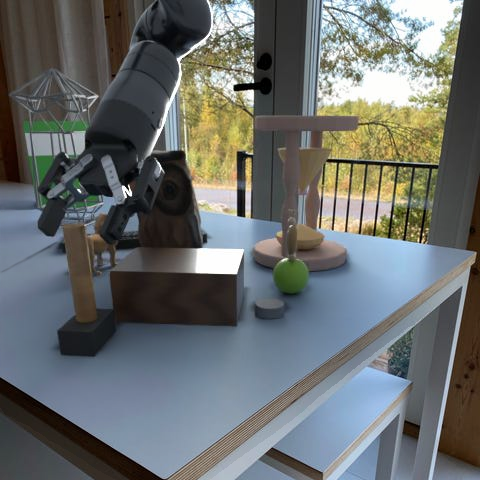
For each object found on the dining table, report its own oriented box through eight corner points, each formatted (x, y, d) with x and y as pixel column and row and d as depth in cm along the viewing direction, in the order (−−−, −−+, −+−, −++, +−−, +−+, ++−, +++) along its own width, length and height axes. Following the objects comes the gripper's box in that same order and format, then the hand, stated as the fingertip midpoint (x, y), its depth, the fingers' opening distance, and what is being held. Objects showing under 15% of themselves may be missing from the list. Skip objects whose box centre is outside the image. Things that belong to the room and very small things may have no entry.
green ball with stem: (305, 284, 76) (310, 209, 71) (309, 298, 70) (314, 217, 65) (271, 284, 76) (273, 209, 71) (272, 298, 70) (275, 217, 66)
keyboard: (197, 231, 112) (197, 223, 111) (207, 242, 102) (207, 233, 101) (64, 240, 104) (63, 231, 103) (62, 252, 94) (61, 242, 94)
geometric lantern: (88, 231, 112) (66, 64, 98) (27, 229, 114) (-2, 65, 101) (115, 219, 126) (100, 71, 112) (61, 217, 129) (40, 72, 115)
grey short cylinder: (284, 309, 62) (284, 319, 63) (284, 298, 66) (284, 308, 66) (254, 308, 63) (254, 318, 63) (255, 297, 66) (255, 307, 67)
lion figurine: (100, 258, 90) (94, 210, 87) (127, 259, 90) (122, 211, 86) (62, 282, 77) (54, 227, 74) (93, 284, 76) (86, 228, 73)
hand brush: (60, 354, 53) (40, 231, 48) (85, 329, 60) (70, 218, 54) (94, 356, 53) (78, 232, 48) (116, 330, 59) (103, 219, 54)
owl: (203, 274, 81) (199, 150, 73) (128, 275, 81) (117, 150, 73) (205, 255, 93) (201, 146, 85) (140, 255, 92) (131, 146, 84)
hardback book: (96, 202, 152) (87, 121, 143) (98, 205, 146) (89, 121, 136) (37, 205, 146) (24, 121, 137) (37, 209, 140) (22, 121, 131)
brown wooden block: (107, 321, 62) (101, 270, 59) (133, 291, 73) (129, 246, 70) (236, 326, 61) (236, 273, 58) (243, 294, 72) (243, 249, 69)
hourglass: (317, 278, 79) (328, 115, 69) (234, 260, 89) (234, 115, 79) (361, 256, 92) (375, 116, 82) (284, 242, 102) (289, 116, 92)
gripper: (63, 97, 56) (2, 211, 51) (166, 95, 51) (110, 222, 45) (98, 143, 63) (46, 248, 57) (192, 146, 57) (145, 261, 52)
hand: (74, 236), depth 51 cm, fingers open, 8 cm apart
